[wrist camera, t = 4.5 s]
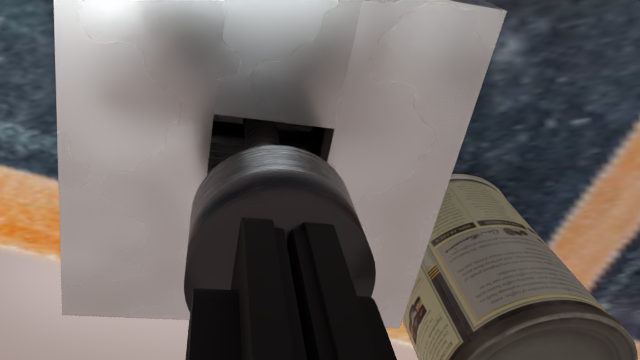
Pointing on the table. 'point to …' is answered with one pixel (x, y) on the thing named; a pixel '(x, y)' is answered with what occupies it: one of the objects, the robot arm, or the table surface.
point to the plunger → (269, 206)
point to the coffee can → (502, 290)
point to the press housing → (255, 103)
